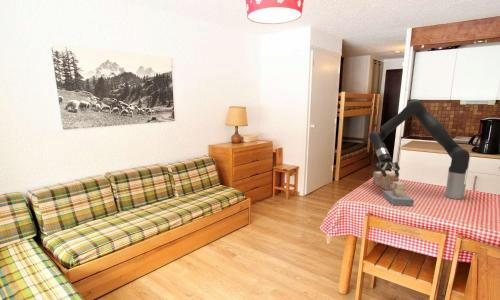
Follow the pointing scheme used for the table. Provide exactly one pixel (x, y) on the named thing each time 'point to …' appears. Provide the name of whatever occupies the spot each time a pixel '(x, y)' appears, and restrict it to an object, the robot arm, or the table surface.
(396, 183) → the birch block
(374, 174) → the stack of blocks
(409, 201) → the slate plinth
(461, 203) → the table surface
